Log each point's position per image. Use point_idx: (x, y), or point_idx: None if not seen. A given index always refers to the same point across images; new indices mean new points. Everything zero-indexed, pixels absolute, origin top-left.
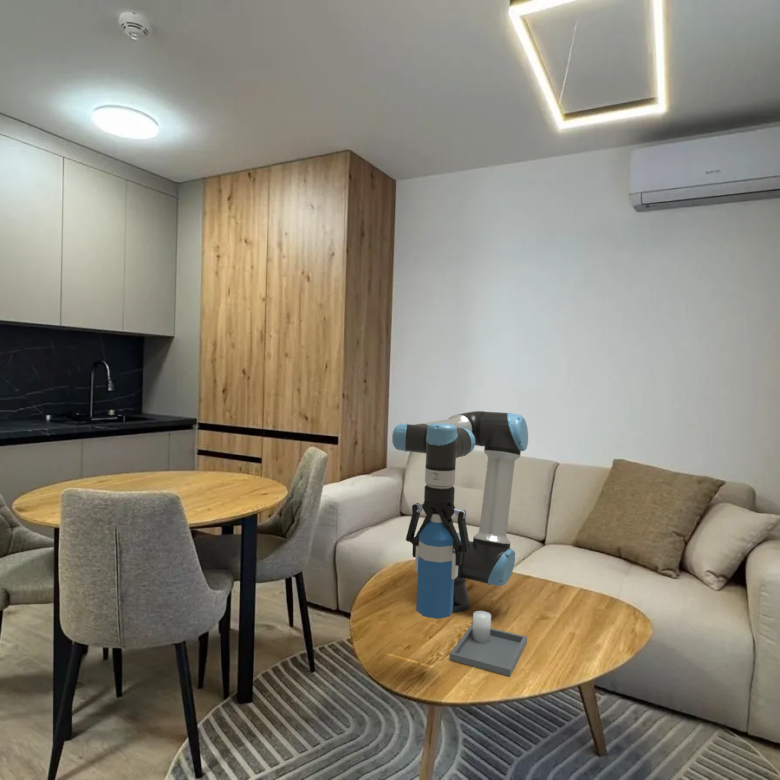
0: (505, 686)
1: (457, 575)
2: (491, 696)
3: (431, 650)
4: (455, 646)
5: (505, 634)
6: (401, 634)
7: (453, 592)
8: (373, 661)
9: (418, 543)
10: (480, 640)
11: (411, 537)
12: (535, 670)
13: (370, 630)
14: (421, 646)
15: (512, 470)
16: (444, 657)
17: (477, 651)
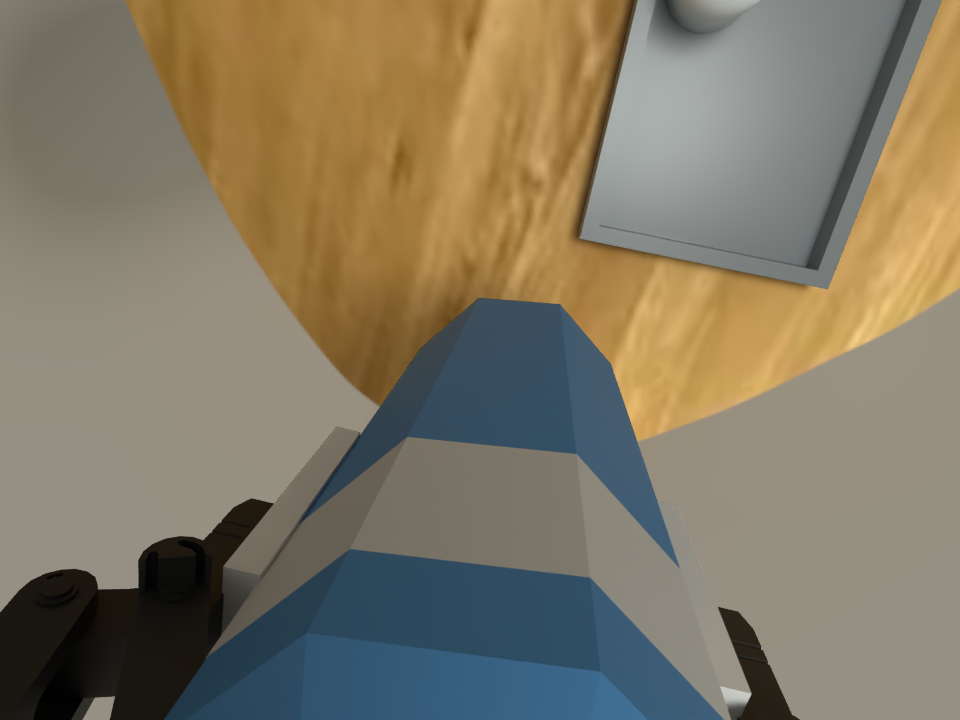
0: (787, 330)
1: (676, 512)
2: (732, 400)
3: (495, 158)
4: (598, 168)
5: None
6: (345, 58)
7: (624, 405)
8: (317, 309)
9: (215, 622)
10: (708, 29)
11: (79, 693)
12: (931, 178)
13: (213, 71)
14: (450, 138)
15: None
16: (554, 198)
17: (690, 123)
